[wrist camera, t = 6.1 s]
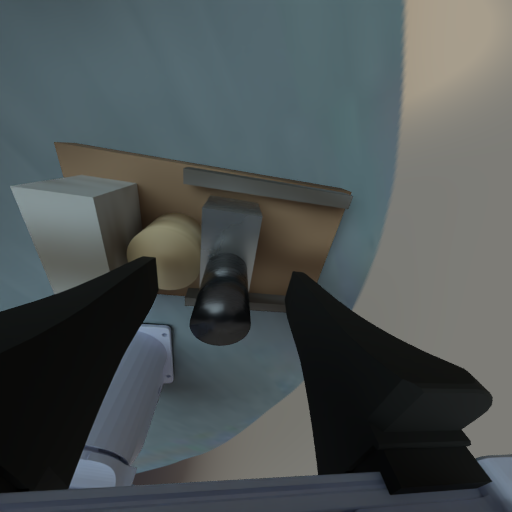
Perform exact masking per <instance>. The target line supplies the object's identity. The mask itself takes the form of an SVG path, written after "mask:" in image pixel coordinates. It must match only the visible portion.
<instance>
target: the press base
mask: <svg viewBox="0 0 512 512" xmlns="http://www.w3.org/2000/svg"><path fill="white" fill-rule="evenodd" d="M54 144H55V148H56V152H57V155H58V159H59V162H60V166H61V169H62V173H63V176H64V178H59V179H53V180H46V181H40V182H33V183H27V184H21V185H14V186H10V187H11V190H12V192H13V195H14V197H15V199H16V202H17V204H18V207H19V209H20V211H21V214H22V216H23V219H24V221H25V224H26V226H27V228H28V231H29V233H30V236H31V238H32V241H33V243H34V245H35V248H36V250H37V253H38V255H39V258H40V260H41V262H42V265H43V267H44V270H45V272H46V275H47V277H48V279H49V282H50V284H51V287H52V289H53V292H54V294H57V293H60V292H63V291H65V290H68V289H71V288H73V287H76V286H78V285H80V284H83V283H85V282H87V281H90V280H92V279H94V278H96V277H99V276H101V275H103V274H105V273H108V272H110V271H112V270H114V269H116V268H118V267H120V266H122V265H124V264H126V263H128V260H127V248H128V245H129V243H130V242H131V240H132V239H133V238H134V237H135V236H136V235H137V234H139V233H140V232H141V231H142V230H143V229H145V228H146V227H147V226H148V225H149V224H151V223H152V222H153V221H154V220H156V219H157V218H158V217H160V216H162V215H164V214H167V213H181V214H185V215H188V216H190V217H192V218H194V219H195V220H196V221H198V222H199V223H200V224H201V225H202V207H203V206H204V204H205V203H206V201H207V200H208V198H209V197H210V195H212V196H219V197H225V198H232V199H239V200H245V201H252V202H258V204H259V207H260V210H261V213H262V216H263V217H262V222H261V228H260V233H259V239H258V244H257V250H256V255H255V261H254V266H253V272H252V277H251V282H250V288H249V306H250V310H256V311H271V312H286V308H285V301H284V299H285V296H286V292H287V289H288V286H289V282H290V279H291V275H292V272H293V271H296V272H304V273H305V274H306V275H308V276H309V277H310V278H311V279H313V280H314V281H315V282H316V283H317V281H318V279H319V276H320V273H321V271H322V268H323V266H324V263H325V260H326V258H327V255H328V252H329V250H330V247H331V245H332V242H333V239H334V237H335V234H336V231H337V229H338V226H339V224H340V221H341V218H342V216H343V213H344V210H345V209H349V206H350V203H351V201H352V198H353V196H351V192H350V191H347V190H344V189H342V188H336V187H331V186H325V185H319V184H313V183H307V182H301V181H295V180H289V179H283V178H278V177H272V176H266V175H260V174H254V173H248V172H242V171H236V170H230V169H225V168H219V167H213V166H207V165H201V164H195V163H189V162H183V161H177V160H171V159H166V158H160V157H154V156H148V155H142V154H136V153H130V152H124V151H118V150H113V149H107V148H101V147H95V146H89V145H83V144H77V143H62V142H54ZM199 288H200V273H199V275H198V277H197V278H196V280H195V281H194V282H193V283H192V284H190V285H189V286H187V287H184V288H181V289H177V290H163V289H159V290H158V293H157V294H164V295H177V296H185V306H195V302H196V299H197V295H198V292H199Z"/></svg>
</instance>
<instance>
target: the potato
mask: <svg viewBox="0 0 512 512" xmlns="http://www.w3.org/2000/svg"><path fill="white" fill-rule="evenodd" d="M201 227H202V225H201V224H200V223H199V222H198V221H196V220H195V219H194V218H192V217H190V216H188V215H185V214H181V213H167V214H164V215H162V216H160V217H158V218H157V219H156V220H154V221H153V222H152V223H151V224H149V225H148V226H147V227H146V228H145V229H143V230H142V231H141V232H140V233H139V234H137V235H136V236H135V237H134V238H133V239H132V240H131V242H130V243H129V245H128V248H127V260H128V262H131V261H133V260H135V259H137V258H139V257H142V256H147V257H156V265H157V276H158V287H159V289H163V290H177V289H181V288H184V287H187V286H189V285H190V284H192V283H193V282H194V281H195V280H196V278H197V277H198V275H199V273H200V258H201Z"/></svg>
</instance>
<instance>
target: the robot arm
mask: <svg viewBox="0 0 512 512" xmlns="http://www.w3.org/2000/svg"><path fill="white" fill-rule="evenodd" d="M158 290H159V287H158V276H157V265H156V257H147V256H142V257H139V258H137V259H135V260H133V261H131V262H128V263H126V264H124V265H122V266H120V267H118V268H116V269H114V270H112V271H110V272H108V273H105V274H103V275H101V276H99V277H96V278H94V279H92V280H90V281H87V282H85V283H83V284H80V285H78V286H76V287H73V288H71V289H68V290H65V291H63V292H60V293H57V294H54V295H52V296H49V297H46V298H43V299H40V300H37V301H34V302H31V303H28V304H24V305H21V306H18V307H15V308H11V309H8V310H5V311H1V312H0V512H512V454H511V455H490V456H482V457H479V458H476V459H475V458H474V456H473V455H472V454H471V453H470V451H469V450H468V449H467V447H466V446H470V445H471V441H470V440H469V439H468V437H467V436H466V435H465V433H464V432H463V431H462V430H461V429H463V428H464V427H466V426H467V425H469V424H470V423H471V422H473V421H474V420H476V419H477V418H479V417H480V416H481V415H483V414H484V413H485V412H486V411H487V410H488V409H489V408H490V406H491V405H492V396H491V394H490V392H488V391H487V390H486V389H485V388H484V387H483V386H482V385H481V384H480V383H479V382H478V381H477V380H476V379H475V378H474V377H473V376H472V375H471V374H470V373H469V372H468V371H466V370H465V369H463V368H461V367H459V366H456V365H454V364H452V363H449V362H447V361H445V360H443V359H440V358H438V357H436V356H433V355H431V354H429V353H426V352H424V351H422V350H420V349H418V348H416V347H414V346H412V345H410V344H408V343H406V342H404V341H402V340H400V339H398V338H396V337H394V336H392V335H391V334H388V333H387V332H385V331H383V330H382V329H380V328H378V327H376V326H375V325H373V324H371V323H370V322H368V321H367V320H365V319H364V318H362V317H360V316H359V315H357V314H356V313H354V312H353V311H352V310H350V309H349V308H347V307H346V306H345V305H343V304H342V303H341V302H339V301H338V300H337V299H335V298H334V297H333V296H332V295H330V294H329V293H328V292H327V291H326V290H324V289H323V288H322V287H321V286H320V285H319V284H317V283H316V282H315V281H314V280H313V279H311V278H310V277H309V276H308V275H306V274H305V273H304V272H296V271H293V272H292V275H291V279H290V282H289V286H288V289H287V292H286V296H285V299H284V301H285V308H286V314H287V318H288V321H289V325H290V328H291V331H292V335H293V338H294V341H295V344H296V347H297V351H298V354H299V358H300V362H301V366H302V371H303V376H304V381H305V387H306V393H307V398H308V403H309V410H310V417H311V422H312V430H313V437H314V445H315V452H316V460H317V469H318V475H313V476H295V477H280V478H279V477H278V478H260V479H244V480H224V481H207V482H190V483H172V484H154V485H136V486H135V485H133V484H132V483H133V479H134V476H135V473H136V470H137V468H136V467H132V466H130V465H131V464H132V463H133V462H134V460H135V459H136V457H137V456H138V454H139V453H140V451H141V449H142V447H143V444H144V442H145V439H146V436H147V433H148V430H149V427H150V424H151V420H152V417H153V414H154V411H155V408H156V405H157V402H158V399H159V396H160V393H161V390H162V387H163V384H164V383H172V382H173V379H174V373H173V357H172V340H171V328H170V327H169V326H167V325H152V324H142V323H143V321H144V319H145V318H146V316H147V314H148V313H149V311H150V309H151V307H152V305H153V303H154V300H155V298H156V296H157V293H158ZM165 333H166V334H165Z"/></svg>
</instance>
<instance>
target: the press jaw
mask: <svg viewBox="0 0 512 512" xmlns="http://www.w3.org/2000/svg"><path fill="white" fill-rule="evenodd" d="M262 217H263V216H262V213H261V210H260V207H259V204H258V202H252V201H245V200H239V199H232V198H225V197H219V196H212V195H210V197H209V198H208V200H207V201H206V203H205V204H204V206H203V207H202V227H201V258H200V288H199V292H198V295H197V299H196V302H195V306H194V309H193V312H192V316H191V319H190V329H191V331H192V333H193V334H194V336H195V337H196V338H198V339H199V340H201V341H202V342H205V343H207V344H211V345H218V346H223V345H230V344H233V343H236V342H238V341H240V340H242V339H243V338H244V337H245V336H246V335H247V334H248V332H249V330H250V326H251V321H250V306H249V288H250V282H251V277H252V272H253V266H254V261H255V255H256V250H257V244H258V239H259V233H260V228H261V222H262Z"/></svg>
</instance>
